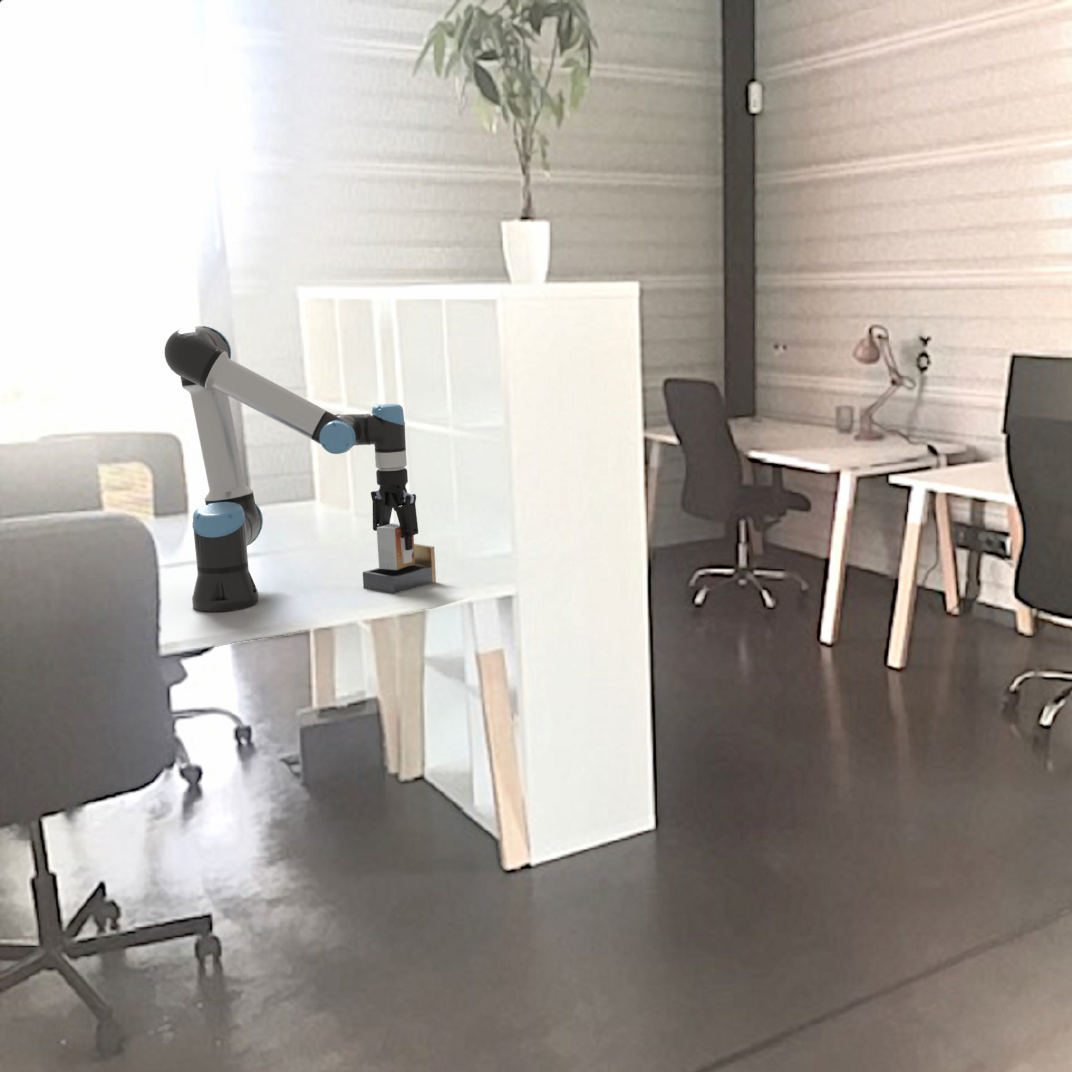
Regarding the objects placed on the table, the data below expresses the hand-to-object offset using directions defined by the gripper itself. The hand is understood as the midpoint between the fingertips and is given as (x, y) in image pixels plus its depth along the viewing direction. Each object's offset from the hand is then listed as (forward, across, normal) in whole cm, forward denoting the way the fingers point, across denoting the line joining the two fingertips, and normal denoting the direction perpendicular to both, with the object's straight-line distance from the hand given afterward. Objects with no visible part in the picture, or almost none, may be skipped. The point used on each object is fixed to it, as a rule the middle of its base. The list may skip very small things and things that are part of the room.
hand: (397, 560), depth 291 cm
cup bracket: (+6, 0, 0) cm, 6 cm away
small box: (+2, 0, 0) cm, 2 cm away
